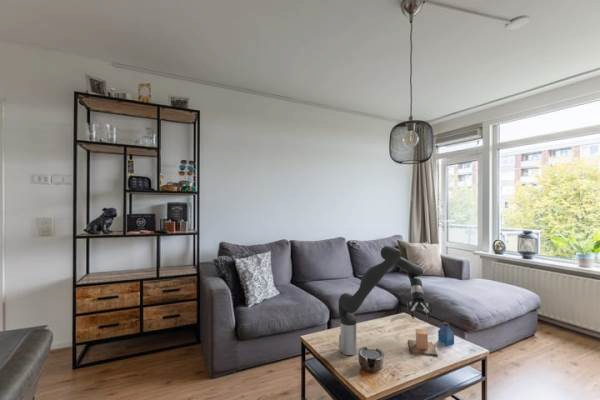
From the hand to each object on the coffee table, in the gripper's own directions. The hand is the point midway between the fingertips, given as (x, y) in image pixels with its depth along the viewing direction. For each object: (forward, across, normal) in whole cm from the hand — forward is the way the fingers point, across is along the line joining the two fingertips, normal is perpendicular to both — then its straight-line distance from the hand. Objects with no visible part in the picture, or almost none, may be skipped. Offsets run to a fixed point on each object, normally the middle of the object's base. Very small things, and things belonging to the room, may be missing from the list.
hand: (420, 318), depth 172 cm
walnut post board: (+15, 0, +7) cm, 16 cm away
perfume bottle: (+7, +16, +15) cm, 23 cm away
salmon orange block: (+14, 0, +6) cm, 16 cm away
